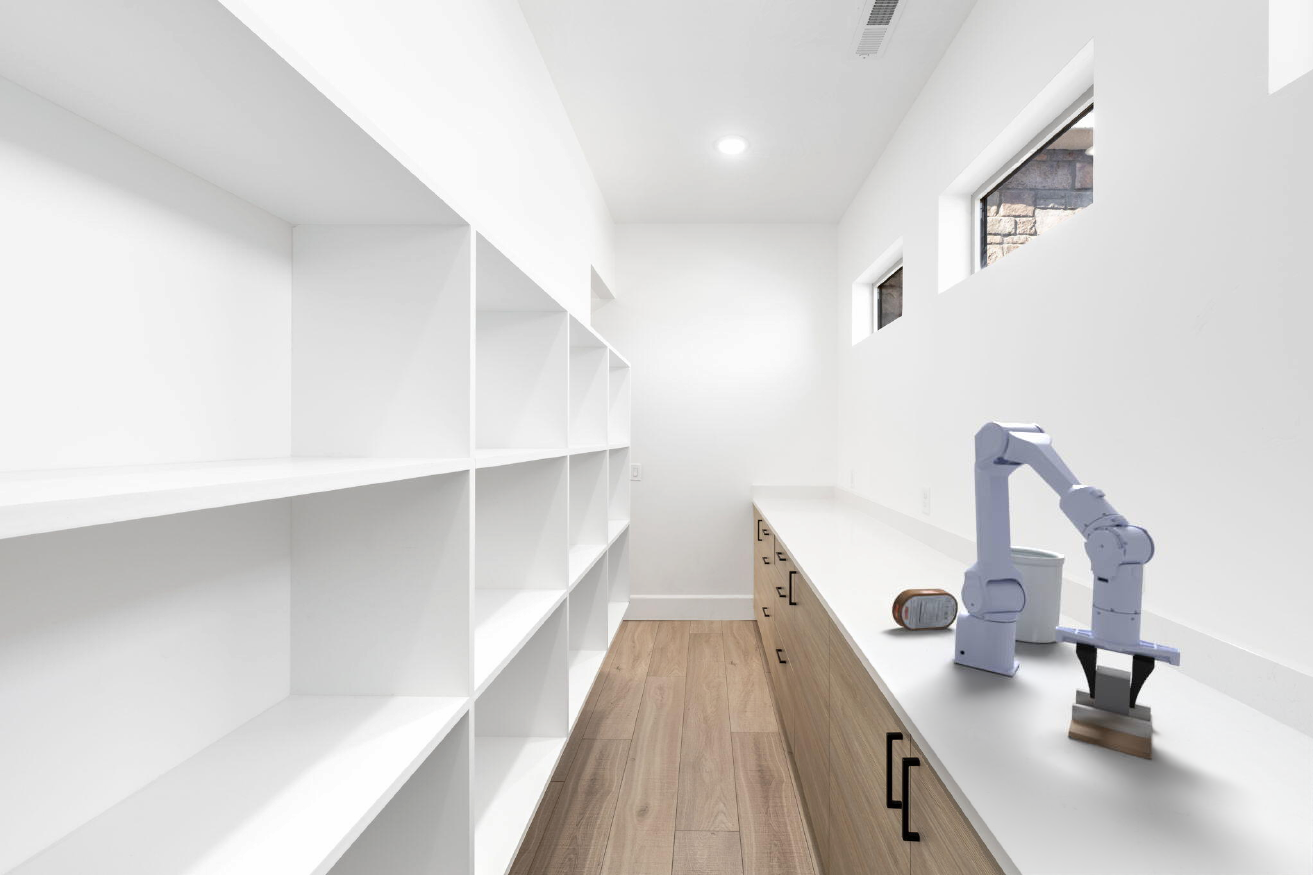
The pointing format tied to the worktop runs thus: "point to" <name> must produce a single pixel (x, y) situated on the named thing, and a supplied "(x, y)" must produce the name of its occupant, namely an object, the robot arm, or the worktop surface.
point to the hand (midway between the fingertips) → (1111, 701)
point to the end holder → (1111, 726)
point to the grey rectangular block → (1112, 690)
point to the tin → (924, 609)
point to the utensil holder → (1039, 593)
